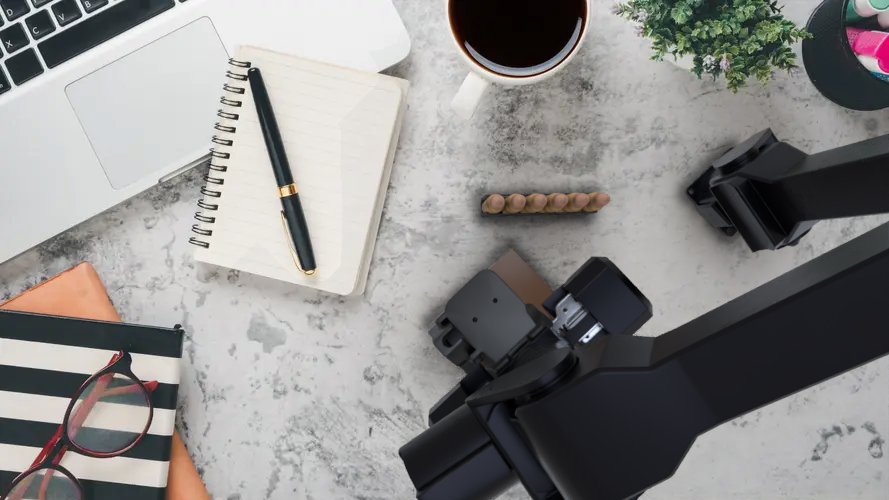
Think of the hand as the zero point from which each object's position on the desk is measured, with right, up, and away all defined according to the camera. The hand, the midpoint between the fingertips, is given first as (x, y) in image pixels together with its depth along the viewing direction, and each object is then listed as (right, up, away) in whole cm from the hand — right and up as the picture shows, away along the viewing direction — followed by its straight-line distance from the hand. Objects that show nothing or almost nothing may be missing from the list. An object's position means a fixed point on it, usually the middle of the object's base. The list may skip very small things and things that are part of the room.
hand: (526, 346), depth 59 cm
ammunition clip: (+2, +13, +7) cm, 15 cm away
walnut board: (0, 0, +7) cm, 7 cm away
